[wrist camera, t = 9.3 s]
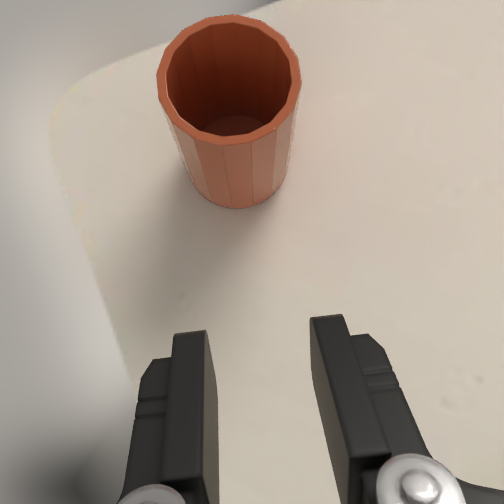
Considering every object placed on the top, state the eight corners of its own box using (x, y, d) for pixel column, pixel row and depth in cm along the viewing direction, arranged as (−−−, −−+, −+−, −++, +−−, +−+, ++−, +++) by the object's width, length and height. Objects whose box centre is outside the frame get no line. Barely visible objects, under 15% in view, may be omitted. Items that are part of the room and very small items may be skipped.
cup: (191, 214, 27) (162, 152, 19) (183, 120, 28) (152, 22, 20) (293, 202, 27) (309, 136, 19) (280, 109, 28) (290, 7, 20)
